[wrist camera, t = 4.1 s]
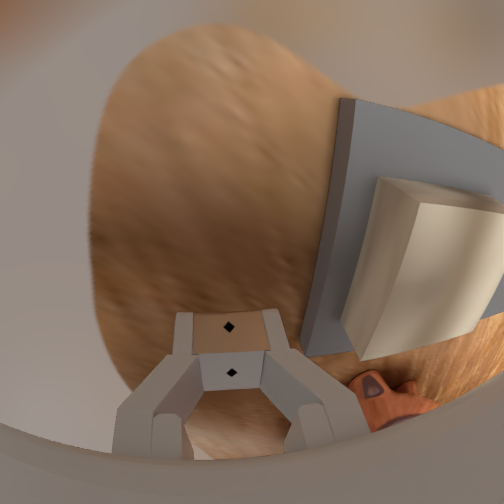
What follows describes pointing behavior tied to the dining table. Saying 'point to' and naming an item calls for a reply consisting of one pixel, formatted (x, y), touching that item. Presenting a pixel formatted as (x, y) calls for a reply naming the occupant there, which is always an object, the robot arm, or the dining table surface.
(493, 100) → the dining table surface
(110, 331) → the dining table surface
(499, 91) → the dining table surface
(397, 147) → the board
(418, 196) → the beige flat block
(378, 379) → the piggy bank
